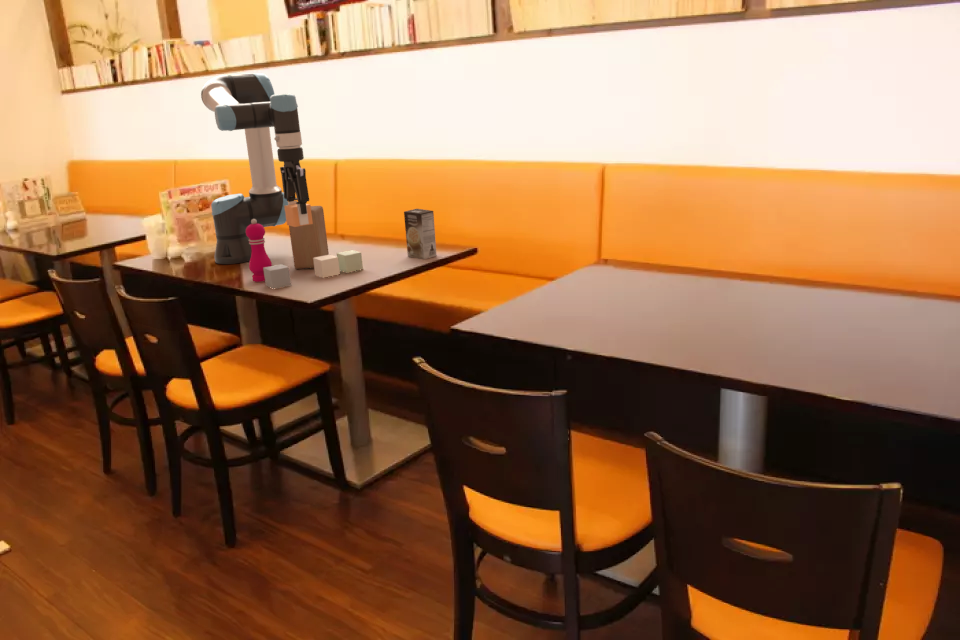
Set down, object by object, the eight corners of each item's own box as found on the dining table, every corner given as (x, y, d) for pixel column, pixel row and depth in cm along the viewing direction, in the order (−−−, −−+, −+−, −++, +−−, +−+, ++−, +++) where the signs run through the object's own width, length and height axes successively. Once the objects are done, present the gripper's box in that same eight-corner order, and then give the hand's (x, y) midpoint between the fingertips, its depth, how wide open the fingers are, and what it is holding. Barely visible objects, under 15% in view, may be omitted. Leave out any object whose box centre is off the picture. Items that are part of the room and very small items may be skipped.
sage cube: (338, 270, 257) (336, 253, 255) (354, 267, 260) (352, 249, 259) (347, 273, 252) (344, 255, 251) (363, 270, 256) (361, 252, 254)
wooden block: (330, 261, 270) (323, 205, 264) (322, 268, 261) (314, 210, 255) (303, 262, 271) (295, 206, 265) (293, 269, 262) (285, 211, 256)
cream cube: (315, 275, 252) (313, 257, 250) (331, 272, 256) (329, 254, 254) (323, 278, 248) (321, 260, 246) (340, 275, 251) (338, 257, 249)
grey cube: (265, 286, 243) (263, 267, 241) (283, 282, 246) (281, 264, 244) (273, 289, 238) (270, 270, 236) (291, 285, 242) (288, 267, 240)
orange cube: (286, 224, 240) (284, 205, 238) (304, 221, 243) (302, 203, 241) (294, 227, 235) (292, 207, 233) (312, 223, 238) (310, 204, 237)
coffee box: (406, 256, 271) (402, 211, 266) (420, 253, 275) (416, 208, 270) (424, 259, 265) (420, 213, 260) (437, 255, 269) (434, 210, 264)
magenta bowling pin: (278, 276, 254) (269, 216, 247) (266, 282, 247) (257, 220, 241) (258, 276, 255) (249, 216, 249) (246, 282, 249) (237, 221, 243)
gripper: (265, 147, 237) (276, 221, 244) (290, 149, 222) (301, 228, 229) (288, 145, 241) (298, 218, 248) (314, 147, 227) (324, 224, 234)
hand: (299, 223), depth 239 cm, fingers closed on orange cube, 6 cm apart
